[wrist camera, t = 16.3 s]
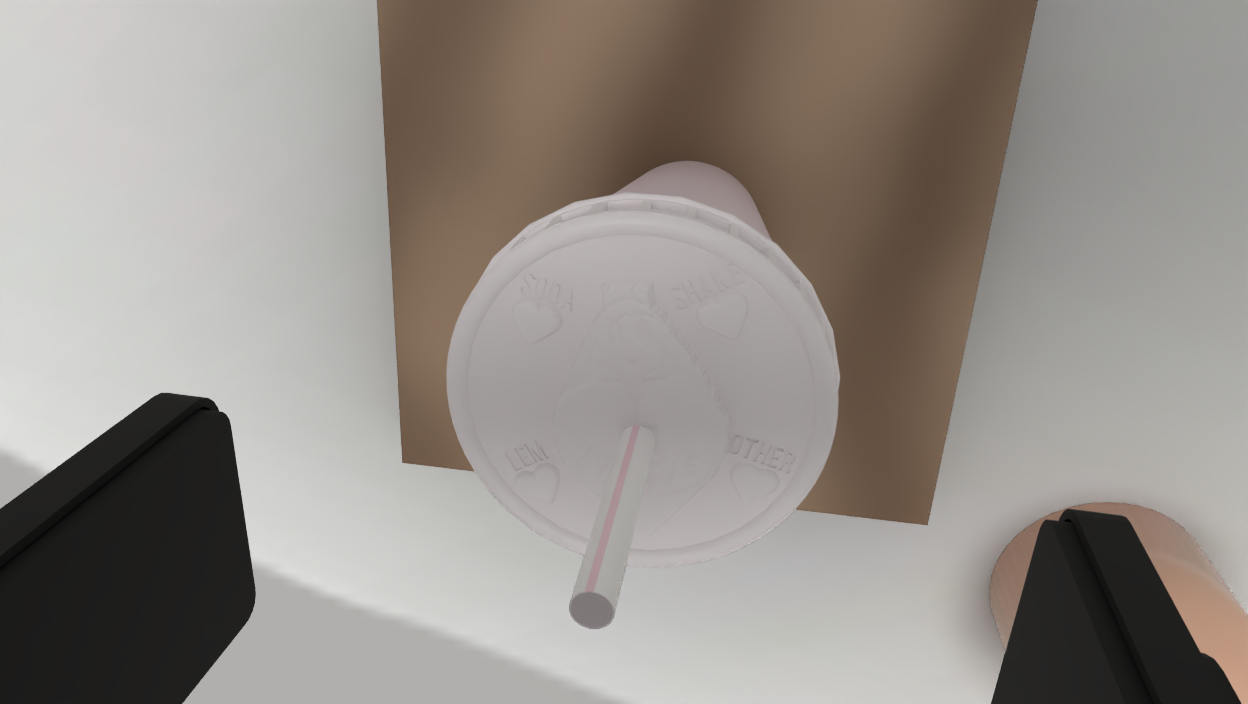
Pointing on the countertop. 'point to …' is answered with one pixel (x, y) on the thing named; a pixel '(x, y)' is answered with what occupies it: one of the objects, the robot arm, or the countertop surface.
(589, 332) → the smoothie
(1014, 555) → the peach rounded cylinder
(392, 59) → the walnut board
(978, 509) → the countertop surface
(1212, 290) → the countertop surface
